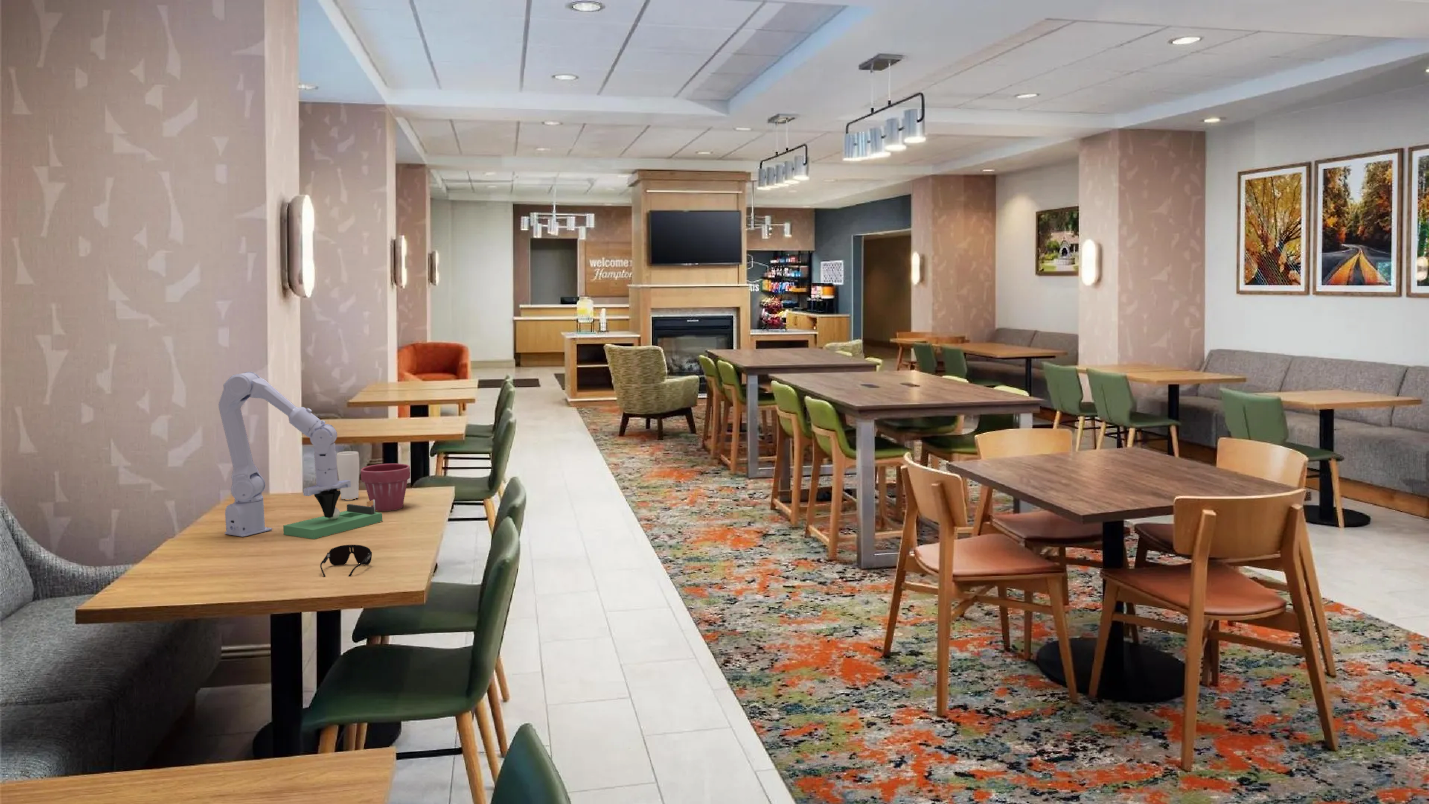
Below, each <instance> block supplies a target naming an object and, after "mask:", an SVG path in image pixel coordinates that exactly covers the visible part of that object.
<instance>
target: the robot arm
mask: <svg viewBox="0 0 1429 804" xmlns="http://www.w3.org/2000/svg"><path fill="white" fill-rule="evenodd" d="M220 395H221V396H220V399H219V401H218V410H219V414H220V418H221V423H222V425H223V426H222V427H223V431H224V435H225V439H226V443H227V444H226V445H227V448H228V452H229V456H230V459H231V464H232V468H233V469H232V473H231V482H232V484H231V488H230V492H231V493H230V494H231V495H232V497H233V498H234V502H233V503H230V504H227V506H226V508H225V511H224V512H225V513H224V515H225V517H224V518H225V519H224V520H225V529H226V530H225V531H224V535H228V536H229V535H230V536H237V537H241V538H242V537H247V536H252V535H256V534H260V533H265V532H269V531H272V530H273V527H267V526H265V525H266V522H265V505H264V502H265V501H264V495H263V494H262V493H263V492H264V491H265V489H266V481H265V478H264V477H263V476H262V475H261V474H260V471H259V468H258V467H257V466H256V464H255V463H254V459H253V455H252V451H251V447H250V442H249V438H248V435H247V430H246V427H245V426H246V425H245V422H244V417H243V413H242V407H243V405H245V403H246V402H247V401H248V399H249V398H252V399H254V398H255V399H261V400H265V401H266V402H267V403H269V404H271V405H272V406H274V407H275V408H276V410H277V409H278V410H279V411H280V412H281V413H283V414H285V415H286V416H287V417H288V423H289V424H290V425H292V426H293V427H294V428H295V429H297V430H298V431H299V432H300V433H302V434H303V435H304V436H306V437H307V438H309V441H310V444H312V446H313V451H314V454H313V455H314V468H315V469H314V471H315V483H316V484H314V485H312V486H309V487H305V488H303V489H302V491H303V496H304V497H311V496H313V495H314V497H315V499H316V500H317V502H318V504H319V505H320V507H321V510H322V513H323V516H325V517H327V518H331V517H333V514H334V510H335V507H336V506H337V504H338V503H337V502H338V500H339V499H340V497H341V491H340V489H341V488H346V487H347V488H348V487H351V481H350V480H343V481H339V477H338V469H337V451H336V440H337V439H338V431H337V430H336V428H335V427H334V426H333V425H332V424H329V423H327V422H326V421H325V420H324V419H322V420H321V419H320V418H318V417H317V416H316V415H315V414H314V413H312V412H313V410H312V409H310V408H309V407H304V406H299V407H297V406H296V405H295V404H294V403H292V402H291V401H290V400H289V399H288V398H287V397H285V396H284V394H282V393H281V392H279V391H278V389H276V388H275V387H274V386H273V385H272V384H271V383H269V382H268V381H267V380H266V379H265V378H263V377H261V376H259V374H257V373H255V372H254V371H245V372H242V373H236V374H233V375H231V376H230V377H229V378H228V379H227V380H226V381H225V382H224V383H223V390H222V393H221V394H220Z"/></svg>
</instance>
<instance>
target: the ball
mask: <svg viewBox="0 0 1429 804" xmlns="http://www.w3.org/2000/svg"><path fill="white" fill-rule="evenodd" d="M340 512H341V511H340V509H339V508H338V507H336V506H335V510H334V514H333V517H331V518H329V519H331V520H335V519H337V518H338V517H339V515H340Z"/></svg>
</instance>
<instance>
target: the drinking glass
mask: <svg viewBox="0 0 1429 804" xmlns="http://www.w3.org/2000/svg"><path fill="white" fill-rule="evenodd" d="M336 458H337V474H338V481H343V480H350V481H351V487H348V488H347V487H346V488H341V489H339V491H340V492H341V494H340V498H341V500H342V499H354V498H359V497H360V495H359V489H360V488H359V487H360V485H359V484H360V454H359V451H353V450H352V451H350V450H349V451H340V452H336Z"/></svg>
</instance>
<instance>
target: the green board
mask: <svg viewBox="0 0 1429 804" xmlns="http://www.w3.org/2000/svg"><path fill="white" fill-rule="evenodd" d="M372 505H373V507H371V506H372ZM380 521H382V522H383V512H379V511H375V500H372V501H369V500H368V501H366V505H361V504H353V503H347V504H346V510H344V511H340V515H339V517H338V518H337V519H335V520H331V519H329V518H327V517H325V516H324V515H323V516H318V517H317V516H316V517H313V518H310V519H309V518H308V519H305V520H300V521H295V522H291V523H289V524H284V525H283V526H282V527H283V529H282V530H283V535H284V536H290V537H297V538H303V537H304V539H309V540H310V539H311V540H315V539H320V538H323V537H322V536H324V537H327V536H331V534H332V535H335V534H334V533H336V534H340V533H344V532H346V530H347V531H351V530H355V529H358V527H359V528H363V527H367V526H370V525H369V524H371V525H375V524H378V523H377V522H379V523H381V522H380ZM374 523H375V524H374ZM366 525H367V526H366ZM354 528H355V529H354ZM343 531H344V532H343ZM319 537H320V538H319Z"/></svg>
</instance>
